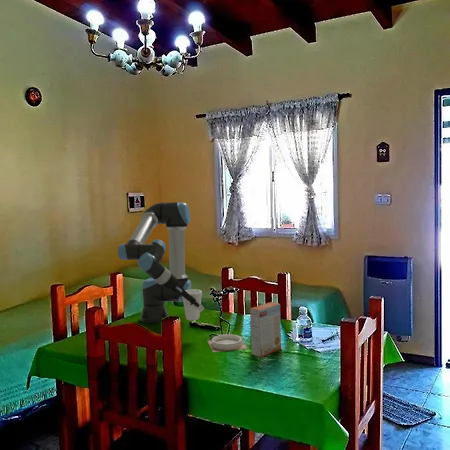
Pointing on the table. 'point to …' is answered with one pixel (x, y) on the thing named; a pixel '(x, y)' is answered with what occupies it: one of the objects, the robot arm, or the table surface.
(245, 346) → the cork mat
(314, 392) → the table surface
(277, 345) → the cracker box
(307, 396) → the table surface
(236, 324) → the table surface
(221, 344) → the bowl
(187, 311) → the foam cup
